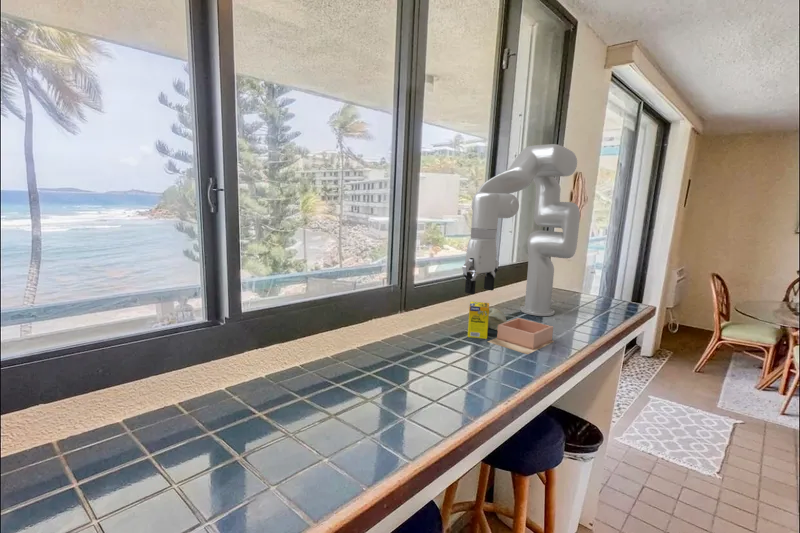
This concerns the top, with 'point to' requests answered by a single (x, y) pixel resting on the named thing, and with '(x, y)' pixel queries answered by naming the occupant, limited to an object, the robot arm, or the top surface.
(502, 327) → the pink open box
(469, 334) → the supplement box
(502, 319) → the seashell
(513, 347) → the beech board
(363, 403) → the top surface
